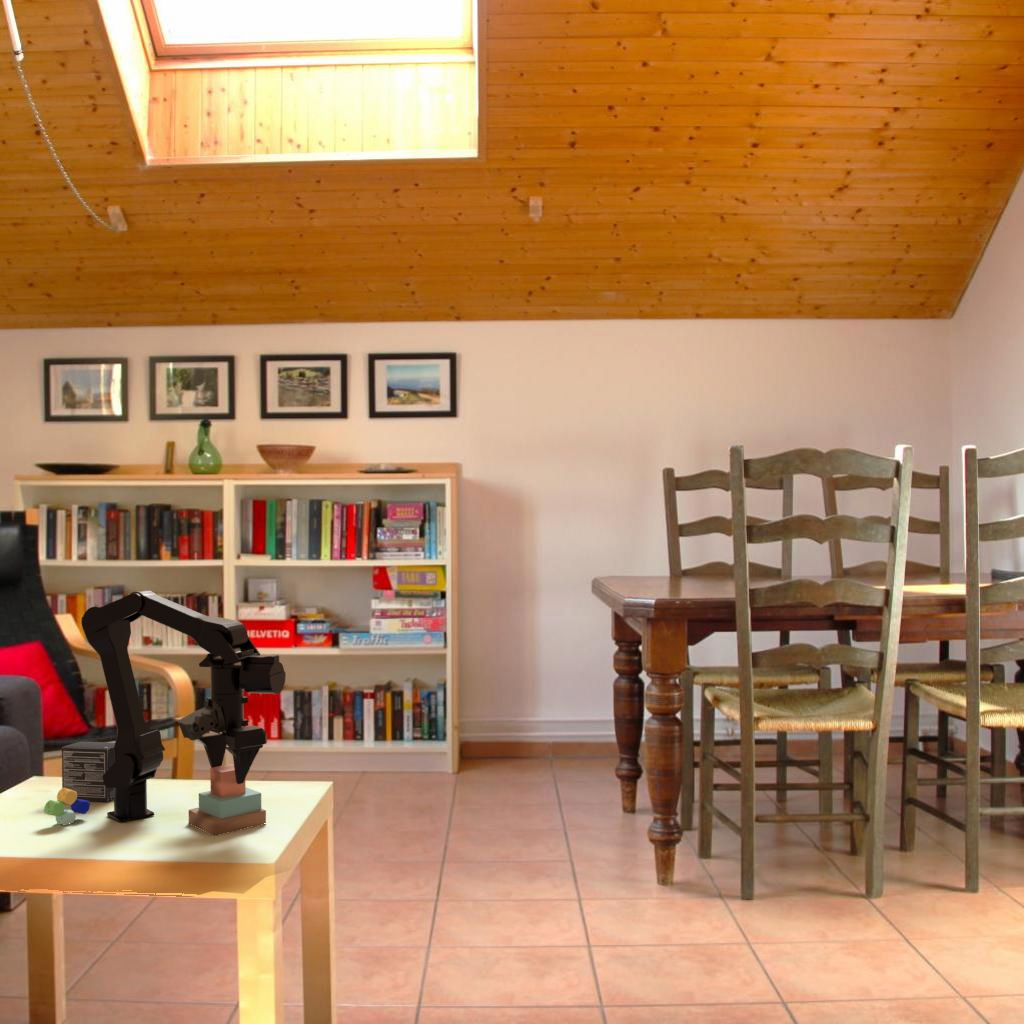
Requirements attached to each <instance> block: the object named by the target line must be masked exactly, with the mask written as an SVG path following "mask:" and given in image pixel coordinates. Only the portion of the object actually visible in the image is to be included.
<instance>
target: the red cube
mask: <svg viewBox="0 0 1024 1024" xmlns="http://www.w3.org/2000/svg"><path fill="white" fill-rule="evenodd" d="M209 770H210V777H209V778H210V779H209V780H210V791H211V793H212V794H214V795H217V796H219V797H221V798H224V797H229V796H234V795H239V794H243V793H246V788H247V786H246V779H245V780H244V782H243V783H242V784H237V782H236V777H235V769H234V763H230V764H224V765H223V764H222V766H218V767H213V768H211V767H210V769H209Z"/></svg>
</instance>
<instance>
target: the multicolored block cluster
mask: <svg viewBox="0 0 1024 1024" xmlns="http://www.w3.org/2000/svg"><path fill="white" fill-rule="evenodd" d="M65 804H67V805H70V809H66V807H65V806H66V805H65ZM90 808H91V805H90V801H86V800H81V799H77V792H76V791H73V790H70V789H67V788H60V789H59V790H58V792H57V795H56V800H52V799H49V800H48V801H47V802H46V803H45V805H44V809H43V811H44V814H45V815H48V816H54V817H55V822H56V823H57V824H58V825H59V824H69V823H72V824H73V823H74V822H75V820H76V818H77V816H76V814H81V815H86V814H87V813H88V812H89V810H90ZM69 825H70V824H69Z"/></svg>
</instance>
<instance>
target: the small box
mask: <svg viewBox="0 0 1024 1024" xmlns="http://www.w3.org/2000/svg"><path fill="white" fill-rule="evenodd" d="M114 745H115V742H110V741H109V742H105V741H78V742H74V743H71V744H67V745H64V746H62V747H61V772H62V773H61V781H62V783H61V787H62V788H67V789H70V790H73V791H76V792H77V799H81V800H86V801H89V802H95V801H97V803H99V802H100V803H109V802H111V801H114V788H108V787H105V784H104V781H103V778H102V776H103V775H104V774H105V773H106V772H107V771H108V769H109V768H110V767H111V766H112V765H113V764H114V763H115V758H114ZM62 788H61V789H62Z"/></svg>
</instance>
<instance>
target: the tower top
mask: <svg viewBox="0 0 1024 1024" xmlns="http://www.w3.org/2000/svg"><path fill="white" fill-rule="evenodd" d="M198 808H199V810H200V811H203V812H205V813H207V814H210V815H212V816H215V817H217V818H219V819H223V818H228V817H232V816H236V815H241V814H245V813H249V812H254V811H258V810H261V809H262V793H261V792H259V791H257V790H254V789H252V788H249V787H246V793H243V794H239V795H234V796H229V797H224V798H221V797H219V796H217V795H214V794H212V793H211V790H207V791H203V792H202V791H201V792H199V793H198Z"/></svg>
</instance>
